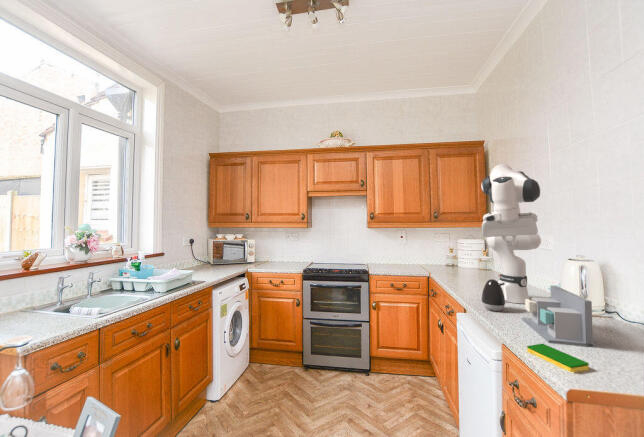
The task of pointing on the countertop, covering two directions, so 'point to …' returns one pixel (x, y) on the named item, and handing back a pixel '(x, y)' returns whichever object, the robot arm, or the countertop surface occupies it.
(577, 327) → the grey angled box fixture
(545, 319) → the teal button
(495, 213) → the robot arm
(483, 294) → the pump dispenser
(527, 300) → the ivory button
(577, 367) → the dish sponge
